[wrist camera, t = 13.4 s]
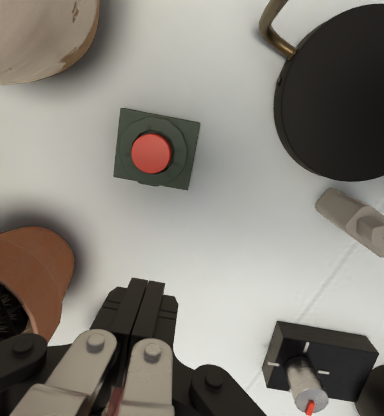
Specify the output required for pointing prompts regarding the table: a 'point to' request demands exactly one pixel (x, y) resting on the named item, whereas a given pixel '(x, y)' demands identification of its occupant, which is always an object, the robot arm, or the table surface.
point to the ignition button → (151, 153)
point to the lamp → (333, 94)
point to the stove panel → (321, 358)
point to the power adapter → (354, 219)
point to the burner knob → (305, 385)
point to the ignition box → (172, 131)
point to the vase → (44, 37)
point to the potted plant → (32, 281)
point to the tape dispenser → (372, 394)
